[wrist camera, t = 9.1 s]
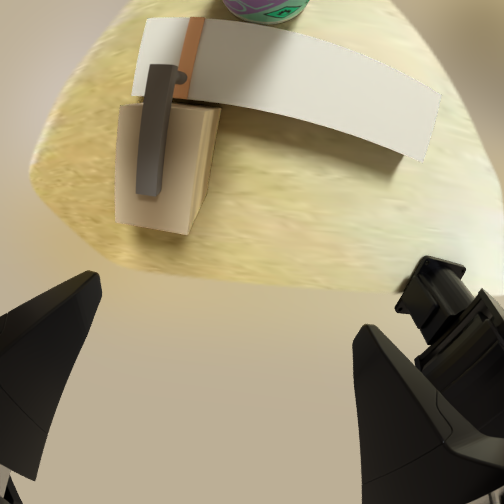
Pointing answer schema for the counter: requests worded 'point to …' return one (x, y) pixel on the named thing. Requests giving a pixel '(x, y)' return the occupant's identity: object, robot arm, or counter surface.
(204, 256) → the counter surface
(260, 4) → the spray can
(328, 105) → the board
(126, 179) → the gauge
